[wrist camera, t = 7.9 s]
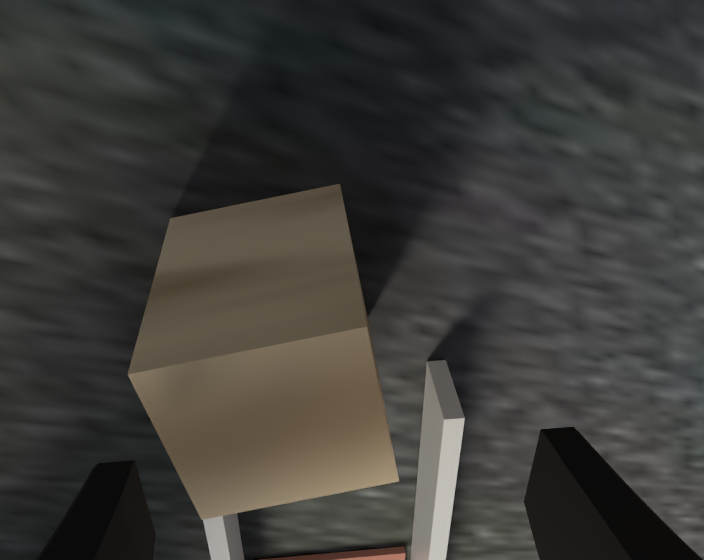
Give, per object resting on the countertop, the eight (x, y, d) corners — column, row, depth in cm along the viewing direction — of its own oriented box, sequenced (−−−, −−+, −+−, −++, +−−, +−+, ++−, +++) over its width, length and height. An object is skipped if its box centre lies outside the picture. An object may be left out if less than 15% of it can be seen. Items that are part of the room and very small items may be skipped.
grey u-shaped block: (421, 590, 28) (433, 650, 26) (237, 608, 27) (234, 671, 25) (445, 359, 21) (464, 418, 19) (195, 376, 20) (186, 439, 18)
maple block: (367, 317, 19) (399, 480, 15) (219, 347, 20) (201, 519, 15) (340, 183, 17) (366, 326, 12) (170, 217, 17) (127, 374, 12)
